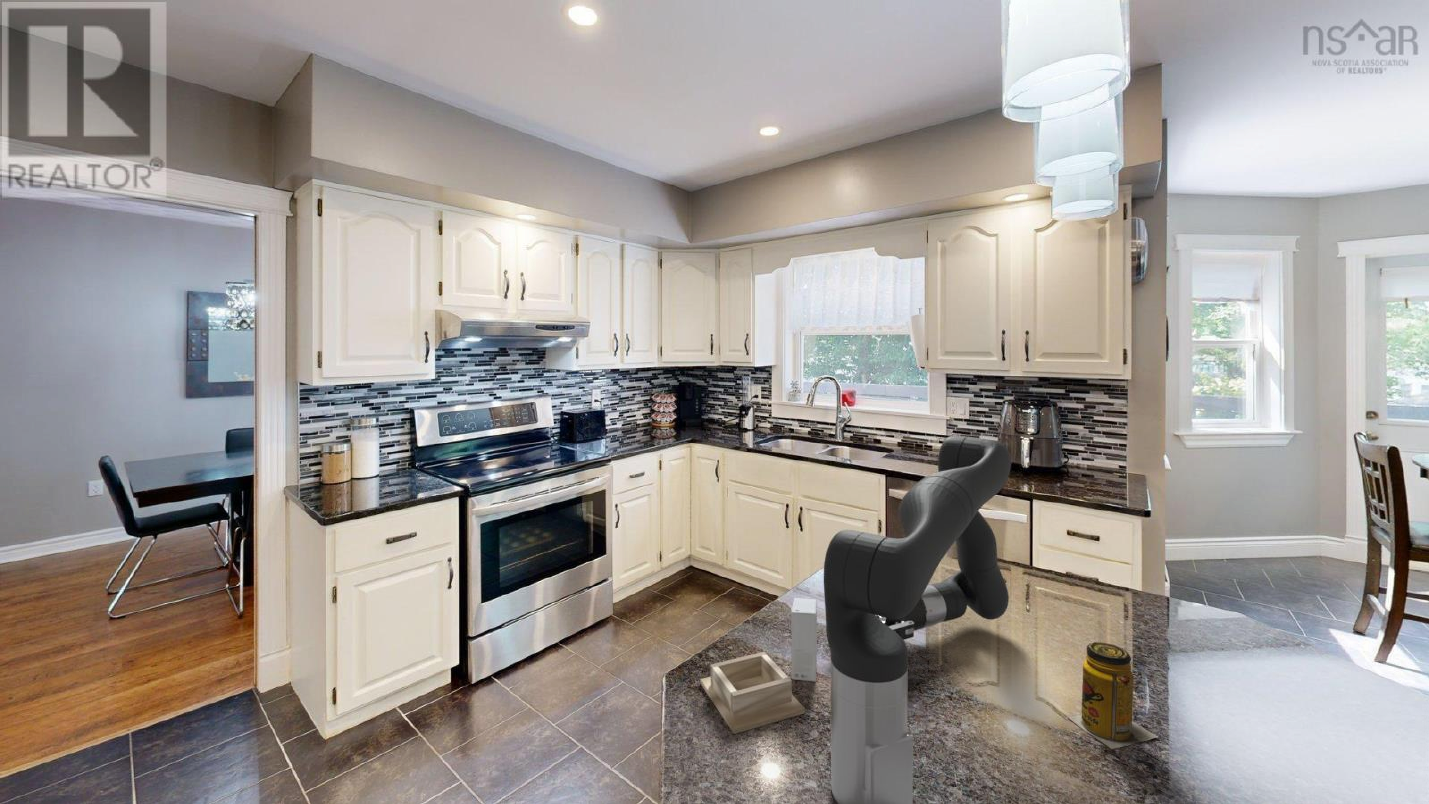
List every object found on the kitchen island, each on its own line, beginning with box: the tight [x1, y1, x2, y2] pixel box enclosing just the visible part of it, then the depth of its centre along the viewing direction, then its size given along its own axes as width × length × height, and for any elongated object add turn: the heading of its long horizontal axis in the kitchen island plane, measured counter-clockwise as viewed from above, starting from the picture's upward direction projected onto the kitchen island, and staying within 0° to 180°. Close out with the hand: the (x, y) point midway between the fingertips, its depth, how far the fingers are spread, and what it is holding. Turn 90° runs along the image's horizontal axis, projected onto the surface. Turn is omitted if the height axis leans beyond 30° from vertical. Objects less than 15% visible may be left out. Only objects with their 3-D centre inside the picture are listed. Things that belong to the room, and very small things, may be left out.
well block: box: [699, 651, 806, 735], centre depth 91 cm, size 14×12×4 cm
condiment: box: [1067, 641, 1159, 750], centre depth 82 cm, size 7×8×12 cm
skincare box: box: [790, 597, 818, 682], centre depth 98 cm, size 6×4×12 cm
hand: (842, 624), depth 101 cm, fingers open, 8 cm apart
